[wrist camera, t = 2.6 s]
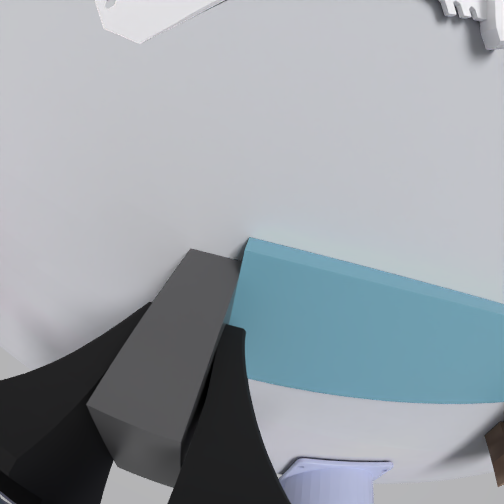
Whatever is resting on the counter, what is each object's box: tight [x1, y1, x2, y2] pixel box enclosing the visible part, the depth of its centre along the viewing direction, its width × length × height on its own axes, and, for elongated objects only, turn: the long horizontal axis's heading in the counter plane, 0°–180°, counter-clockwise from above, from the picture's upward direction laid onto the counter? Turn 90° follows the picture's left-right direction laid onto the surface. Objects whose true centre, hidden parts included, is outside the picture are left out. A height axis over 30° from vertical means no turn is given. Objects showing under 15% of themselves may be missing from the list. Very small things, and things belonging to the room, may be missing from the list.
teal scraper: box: [86, 237, 504, 488], centre depth 8 cm, size 6×23×7 cm, turn 79°
